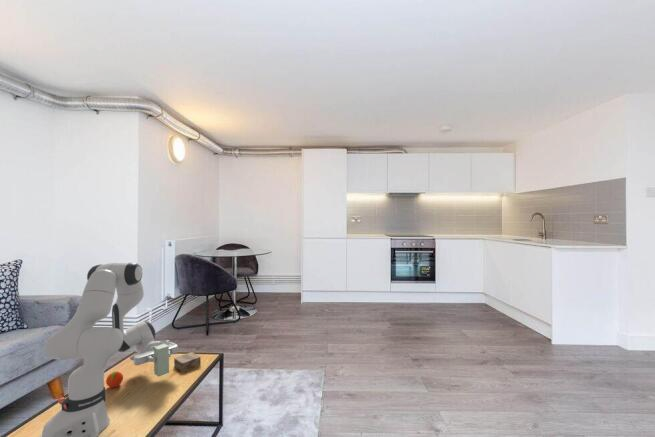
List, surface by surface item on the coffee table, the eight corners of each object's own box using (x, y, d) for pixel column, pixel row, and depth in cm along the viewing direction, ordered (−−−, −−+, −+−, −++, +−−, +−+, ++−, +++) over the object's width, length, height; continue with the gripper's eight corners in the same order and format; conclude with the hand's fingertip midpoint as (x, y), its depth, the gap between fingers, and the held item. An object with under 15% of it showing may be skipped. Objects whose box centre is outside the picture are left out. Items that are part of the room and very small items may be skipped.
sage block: (158, 376, 150) (157, 349, 150) (154, 373, 153) (153, 346, 153) (169, 372, 154) (168, 346, 154) (165, 369, 157) (164, 343, 157)
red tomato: (120, 390, 150) (119, 375, 150) (103, 392, 148) (102, 377, 148) (125, 381, 157) (124, 367, 157) (109, 384, 155) (108, 369, 155)
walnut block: (182, 371, 166) (182, 363, 166) (174, 366, 173) (174, 358, 173) (200, 364, 174) (200, 356, 174) (192, 359, 180) (192, 351, 180)
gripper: (128, 351, 154) (138, 358, 145) (171, 338, 170) (182, 345, 161) (128, 363, 154) (138, 372, 145) (171, 350, 170) (183, 357, 160)
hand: (162, 358), depth 153 cm, fingers closed on sage block, 5 cm apart
